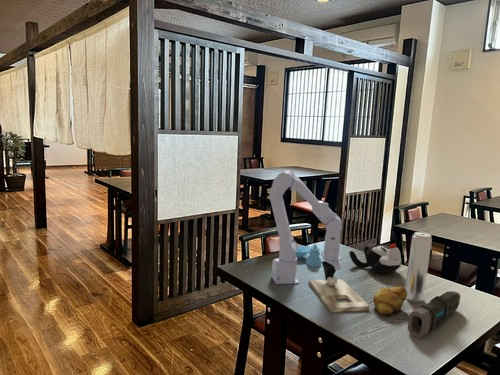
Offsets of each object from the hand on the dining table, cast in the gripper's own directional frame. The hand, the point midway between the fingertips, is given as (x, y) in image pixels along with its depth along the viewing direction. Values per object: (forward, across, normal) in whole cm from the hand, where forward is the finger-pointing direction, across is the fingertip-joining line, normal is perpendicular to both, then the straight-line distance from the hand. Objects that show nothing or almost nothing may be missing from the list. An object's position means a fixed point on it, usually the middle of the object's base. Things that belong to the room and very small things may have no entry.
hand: (328, 280), depth 141 cm
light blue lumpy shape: (+3, +28, 0) cm, 28 cm away
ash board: (+2, -8, 0) cm, 9 cm away
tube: (+3, -28, -26) cm, 38 cm away
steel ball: (-1, -3, 0) cm, 3 cm away
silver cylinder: (+3, -12, -29) cm, 32 cm away
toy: (+3, +15, -29) cm, 33 cm away
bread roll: (+3, -19, -14) cm, 23 cm away
